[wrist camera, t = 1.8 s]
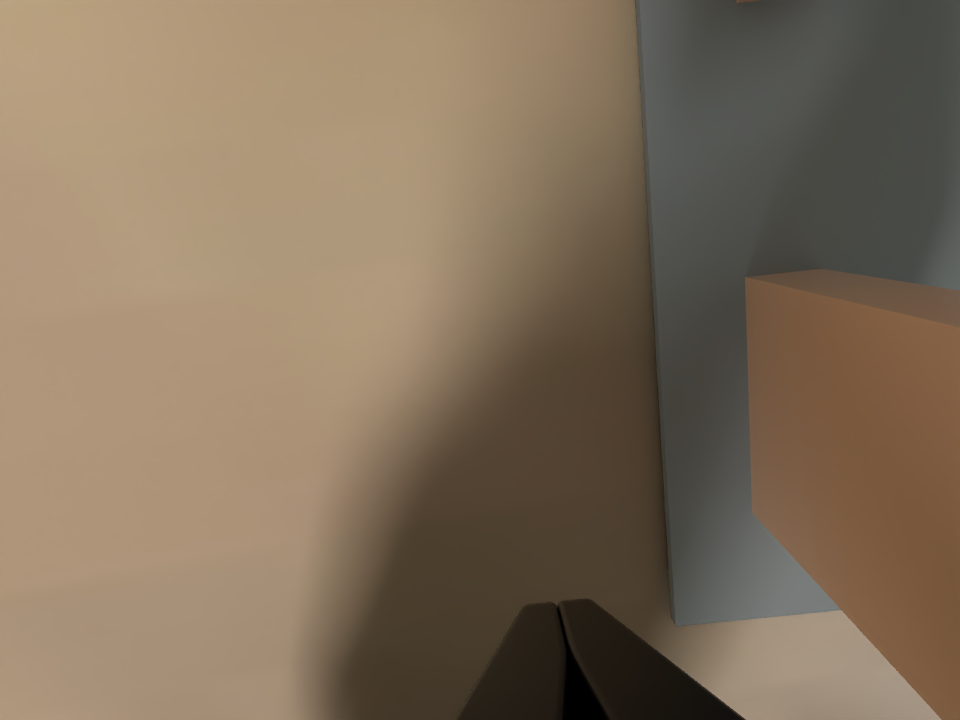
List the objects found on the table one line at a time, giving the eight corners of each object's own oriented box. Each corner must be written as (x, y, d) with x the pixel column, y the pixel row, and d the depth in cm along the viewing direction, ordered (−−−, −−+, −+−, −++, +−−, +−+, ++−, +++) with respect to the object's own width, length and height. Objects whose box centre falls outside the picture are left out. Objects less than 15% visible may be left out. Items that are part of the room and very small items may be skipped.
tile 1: (825, 505, 18) (1104, 740, 10) (751, 512, 18) (971, 752, 10) (823, 268, 16) (1141, 317, 8) (744, 277, 16) (989, 334, 8)
